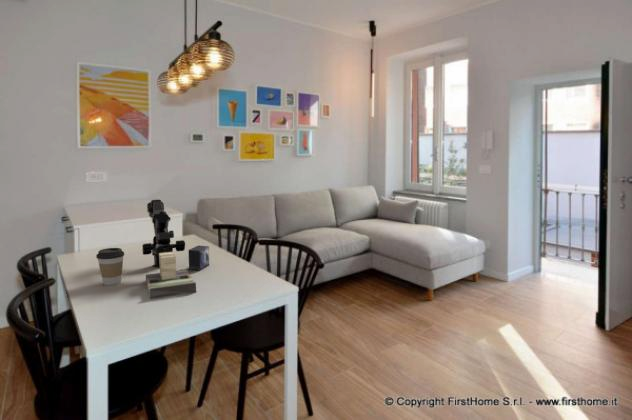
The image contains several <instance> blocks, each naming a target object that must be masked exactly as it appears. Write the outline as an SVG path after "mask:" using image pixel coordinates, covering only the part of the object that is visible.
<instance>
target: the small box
mask: <svg viewBox="0 0 632 420" xmlns="http://www.w3.org/2000/svg"><path fill="white" fill-rule="evenodd" d="M209 266H210V246H209V245H196V246H194V247H192V248H190V249H188V271H197V272H199V271H202V270H204V269H205V268H207V267H209Z"/></svg>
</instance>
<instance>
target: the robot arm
mask: <svg viewBox="0 0 632 420" xmlns="http://www.w3.org/2000/svg"><path fill="white" fill-rule="evenodd" d="M164 204H165V203H164V202H163V201H162V199H152V200H150V202H148V203H147V204H146V211H147V212H146V213H148V216H149V218H151V223H152V224H153V225H152V226H153V231H154V236H153V238H152V242H149V243H147V242H146V243H143V244H142V247H141V248H142V250H141V251H142V255H144V256H145V255H146V256H147V255H151V254H152V256H153V260H154V261H153V263H154V264H152V267H156V268H160V263H159V253H165V252H173V253H174V249H175V251H176V252H183V251H184V252H185V249H186V242H185V240H184V239H181V240H175V243H172V242H171V239H173V238H174V237H175V234H174V230H169V222H170V221H171V220H172V219H171V217H170V216H169V214H167V211H165V205H164Z"/></svg>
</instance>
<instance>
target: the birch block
mask: <svg viewBox="0 0 632 420" xmlns="http://www.w3.org/2000/svg"><path fill="white" fill-rule="evenodd" d="M176 262H177V259H176V254H175V253H174V251H173V252H165V253H159V263H160V267H159V273H160V276H161V278H162V280H166V279H174V278H177V277H176V271H177V263H176Z"/></svg>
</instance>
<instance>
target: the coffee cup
mask: <svg viewBox="0 0 632 420" xmlns="http://www.w3.org/2000/svg"><path fill="white" fill-rule="evenodd" d="M124 256H125V252H124V251H123V249H122V248H120V247H108V248H102V249H99V250H98V252H97V254H96V256H95V257H96V259H97V261H98V266H99V271H100V274H101V281H102V283H103V285H104V286H113V285H114V286H115V285H118V284H120V283H122V279H123V278H122V277H123V264H124V263H123V262H124Z"/></svg>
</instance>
